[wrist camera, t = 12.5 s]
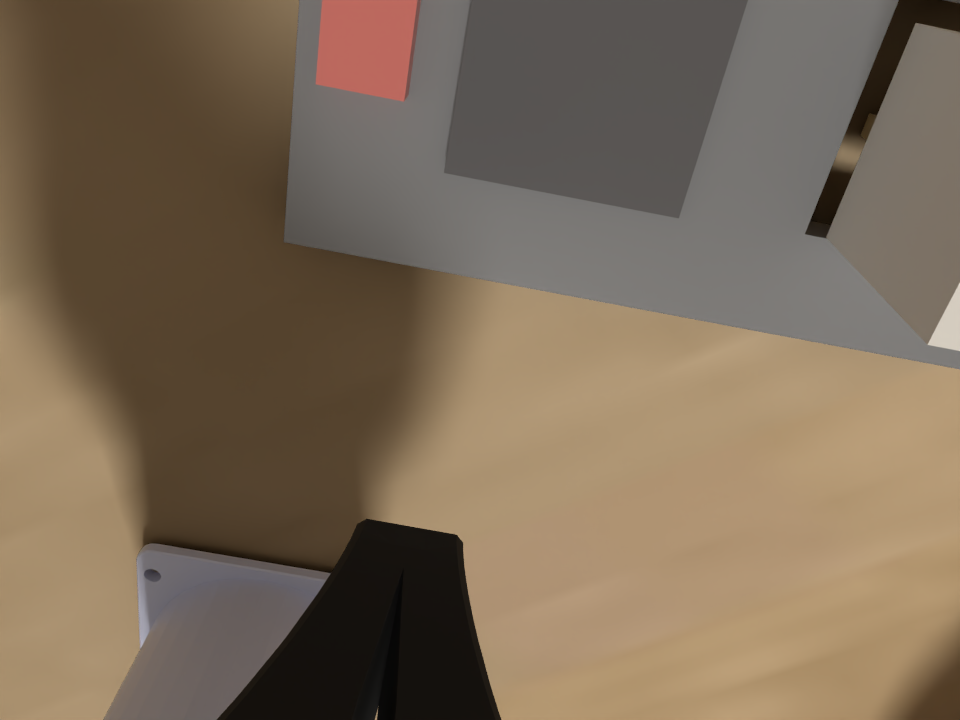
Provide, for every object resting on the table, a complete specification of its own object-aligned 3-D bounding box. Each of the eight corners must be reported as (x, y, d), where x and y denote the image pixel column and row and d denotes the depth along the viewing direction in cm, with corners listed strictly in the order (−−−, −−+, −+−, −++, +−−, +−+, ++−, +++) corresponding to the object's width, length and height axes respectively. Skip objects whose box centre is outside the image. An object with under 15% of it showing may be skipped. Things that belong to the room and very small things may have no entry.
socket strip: (1075, 371, 20) (1123, 412, 19) (296, 224, 20) (275, 253, 18) (1351, -65, 16) (1449, -63, 14) (333, -287, 15) (309, -314, 13)
